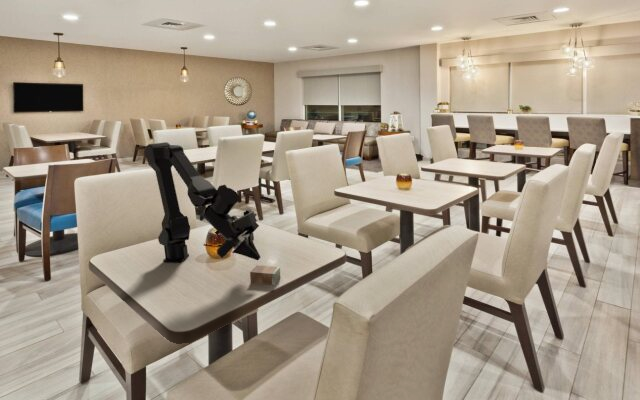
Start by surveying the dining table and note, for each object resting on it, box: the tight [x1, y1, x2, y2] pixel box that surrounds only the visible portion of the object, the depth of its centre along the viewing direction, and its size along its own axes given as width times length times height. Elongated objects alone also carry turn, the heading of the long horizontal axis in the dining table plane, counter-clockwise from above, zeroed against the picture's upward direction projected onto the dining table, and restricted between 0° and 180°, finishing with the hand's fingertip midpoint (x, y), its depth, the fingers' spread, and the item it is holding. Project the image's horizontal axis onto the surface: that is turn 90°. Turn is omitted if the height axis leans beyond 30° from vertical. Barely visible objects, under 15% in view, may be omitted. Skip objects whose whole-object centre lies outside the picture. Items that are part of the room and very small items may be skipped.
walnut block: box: [249, 264, 281, 286], centre depth 124 cm, size 4×5×8 cm
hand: (259, 258), depth 123 cm, fingers closed
